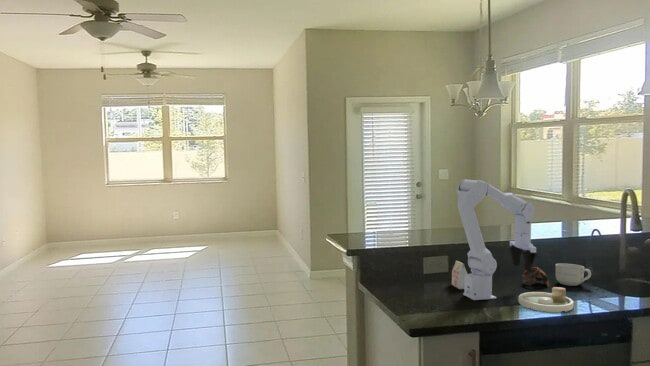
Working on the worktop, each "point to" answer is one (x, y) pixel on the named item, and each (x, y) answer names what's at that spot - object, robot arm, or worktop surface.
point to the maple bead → (558, 294)
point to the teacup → (571, 274)
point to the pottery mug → (535, 276)
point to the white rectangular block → (458, 275)
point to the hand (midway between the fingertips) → (522, 267)
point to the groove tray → (544, 302)
